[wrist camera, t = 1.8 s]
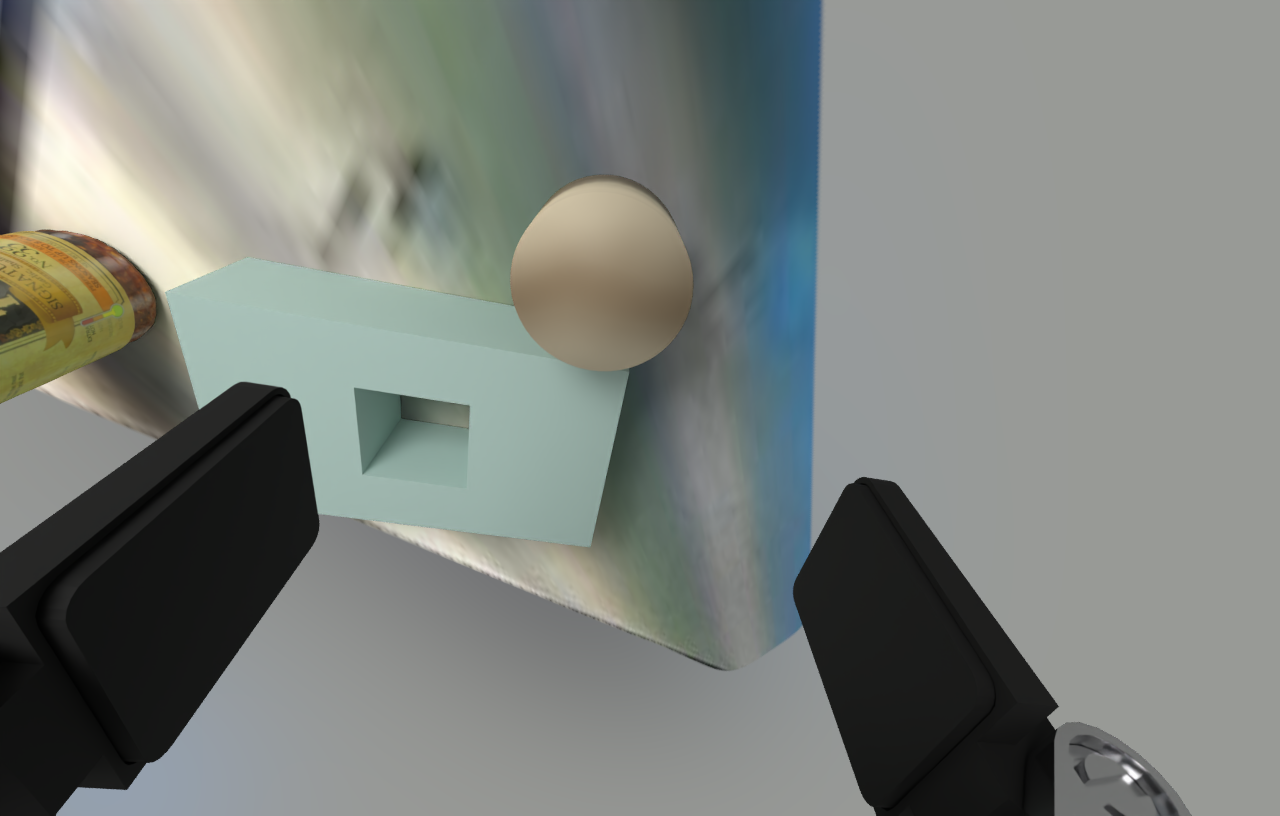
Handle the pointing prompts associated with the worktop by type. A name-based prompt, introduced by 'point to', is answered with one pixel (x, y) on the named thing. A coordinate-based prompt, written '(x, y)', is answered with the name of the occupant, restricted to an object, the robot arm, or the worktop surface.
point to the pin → (602, 275)
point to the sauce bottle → (64, 306)
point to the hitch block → (419, 367)
